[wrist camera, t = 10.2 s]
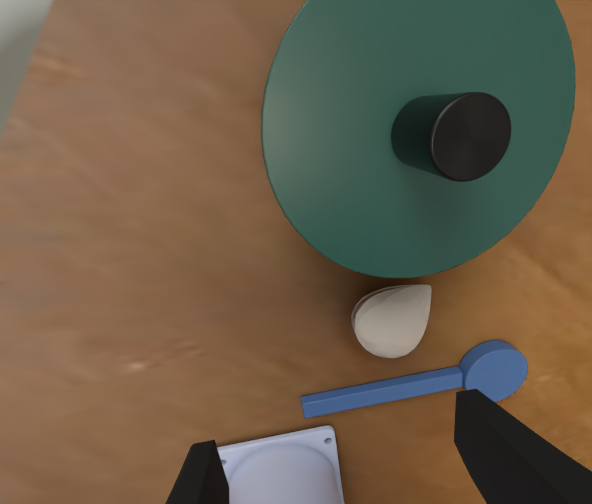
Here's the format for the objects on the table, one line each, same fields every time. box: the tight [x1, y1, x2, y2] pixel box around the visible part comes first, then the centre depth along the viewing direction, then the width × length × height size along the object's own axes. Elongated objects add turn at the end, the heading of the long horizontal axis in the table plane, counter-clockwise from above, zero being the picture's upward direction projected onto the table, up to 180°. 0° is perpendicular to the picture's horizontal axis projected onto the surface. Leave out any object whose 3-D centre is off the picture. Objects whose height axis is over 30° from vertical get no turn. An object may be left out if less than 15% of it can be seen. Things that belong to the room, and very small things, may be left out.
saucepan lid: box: [261, 0, 576, 278], centre depth 11 cm, size 10×10×4 cm
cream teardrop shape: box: [351, 285, 432, 358], centre depth 20 cm, size 4×5×2 cm
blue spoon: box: [301, 340, 528, 418], centre depth 24 cm, size 4×15×1 cm, turn 98°
